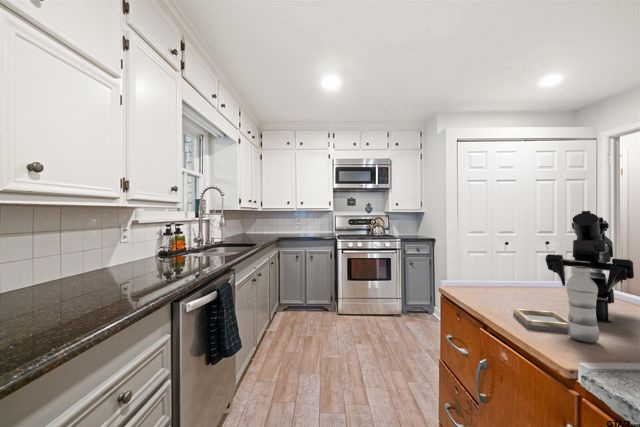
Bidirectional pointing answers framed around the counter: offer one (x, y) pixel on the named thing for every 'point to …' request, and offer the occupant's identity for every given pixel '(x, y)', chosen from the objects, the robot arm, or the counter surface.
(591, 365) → the counter surface
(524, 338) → the counter surface
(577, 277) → the plastic bottle
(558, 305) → the counter surface
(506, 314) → the counter surface
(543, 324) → the beige flat square frame
